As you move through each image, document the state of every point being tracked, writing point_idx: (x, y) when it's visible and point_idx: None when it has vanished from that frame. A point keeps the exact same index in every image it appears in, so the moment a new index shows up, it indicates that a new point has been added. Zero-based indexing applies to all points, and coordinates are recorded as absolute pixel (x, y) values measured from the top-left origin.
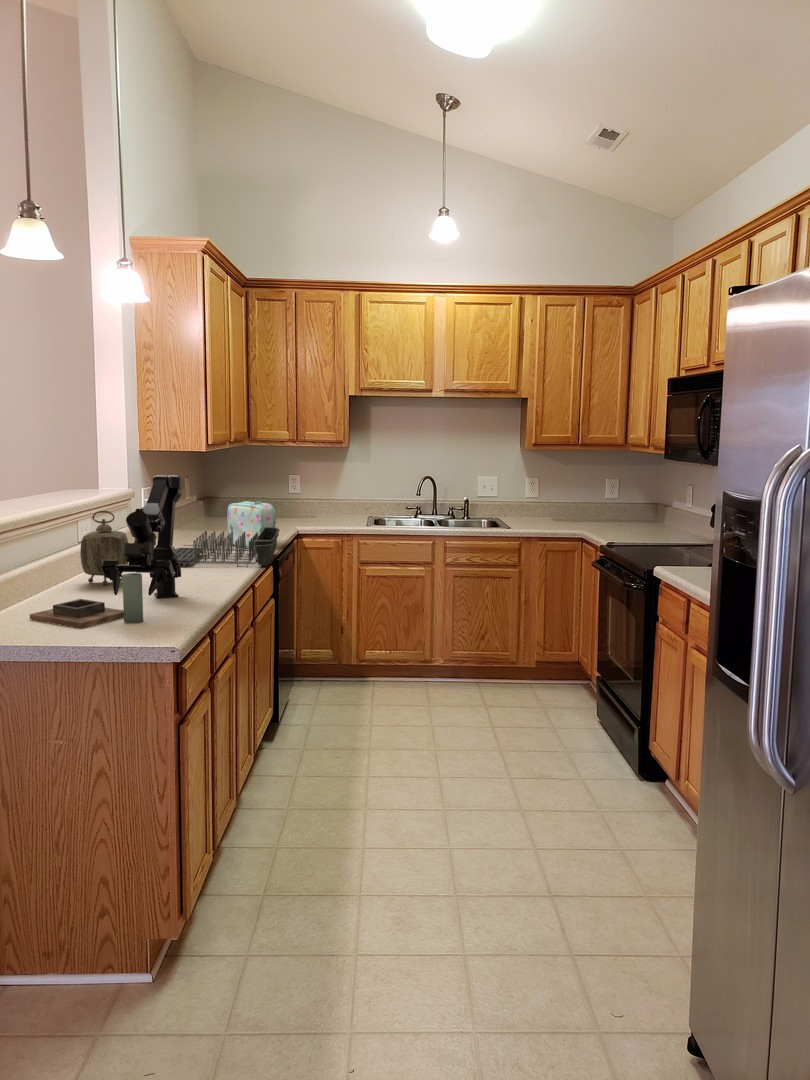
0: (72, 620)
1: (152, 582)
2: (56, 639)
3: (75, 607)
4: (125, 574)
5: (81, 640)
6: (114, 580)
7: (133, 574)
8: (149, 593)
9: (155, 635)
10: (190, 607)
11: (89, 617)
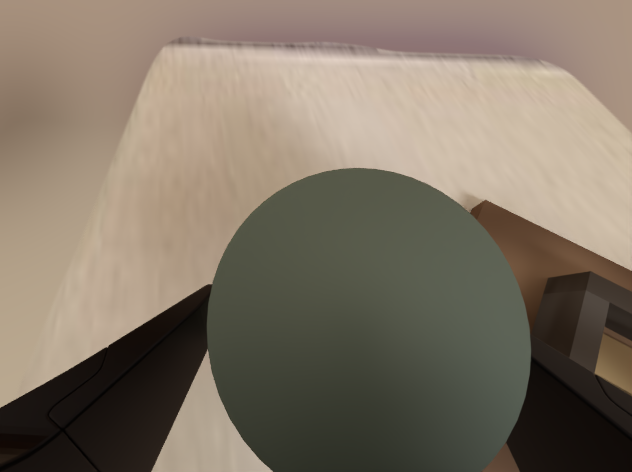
0: (542, 239)
1: (132, 347)
2: (479, 105)
3: (623, 308)
4: (495, 342)
5: (408, 96)
6: (599, 391)
7: (354, 343)
8: (210, 285)
9: (219, 132)
10: None
11: None
